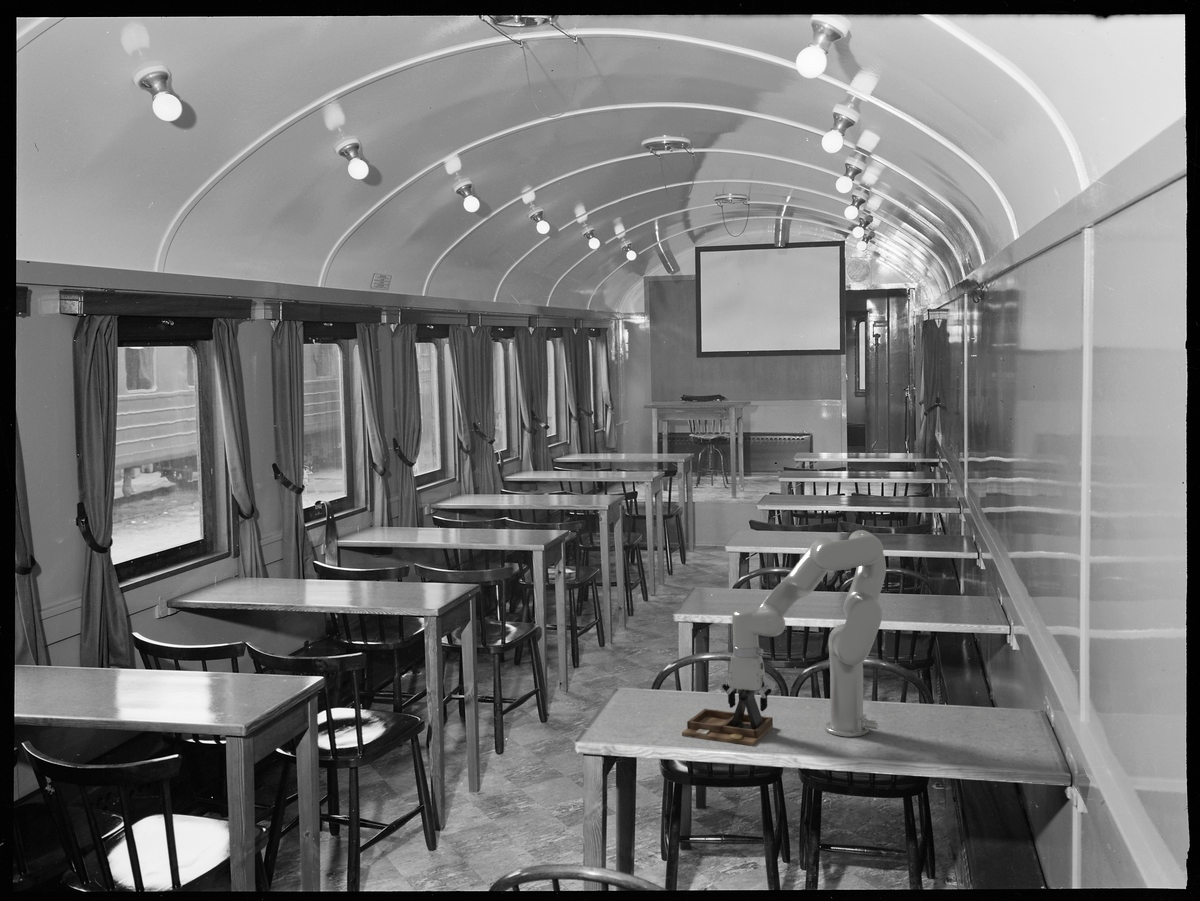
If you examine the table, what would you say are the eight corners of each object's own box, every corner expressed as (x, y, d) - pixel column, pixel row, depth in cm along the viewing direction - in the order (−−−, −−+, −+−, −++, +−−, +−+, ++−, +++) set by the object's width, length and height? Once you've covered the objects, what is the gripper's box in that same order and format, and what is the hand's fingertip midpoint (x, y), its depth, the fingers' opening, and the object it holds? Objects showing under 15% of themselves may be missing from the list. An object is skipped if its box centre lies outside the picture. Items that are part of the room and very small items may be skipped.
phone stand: (764, 727, 319) (764, 687, 319) (758, 733, 314) (757, 693, 313) (736, 723, 324) (735, 684, 323) (729, 729, 318) (728, 689, 318)
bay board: (772, 727, 322) (772, 717, 322) (752, 745, 306) (752, 735, 306) (704, 718, 333) (704, 708, 332) (682, 735, 317) (681, 725, 316)
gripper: (778, 651, 317) (779, 707, 318) (723, 646, 325) (725, 701, 326) (770, 657, 310) (771, 715, 311) (714, 652, 318) (716, 708, 319)
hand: (747, 708), depth 318 cm, fingers open, 9 cm apart
